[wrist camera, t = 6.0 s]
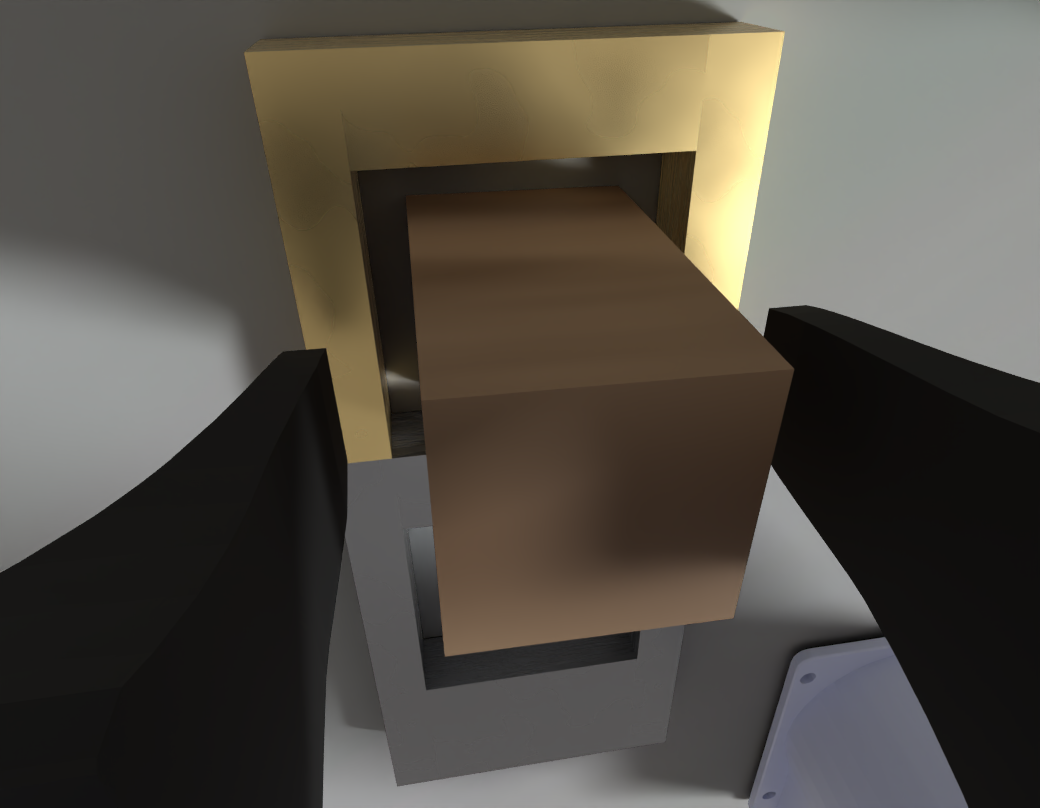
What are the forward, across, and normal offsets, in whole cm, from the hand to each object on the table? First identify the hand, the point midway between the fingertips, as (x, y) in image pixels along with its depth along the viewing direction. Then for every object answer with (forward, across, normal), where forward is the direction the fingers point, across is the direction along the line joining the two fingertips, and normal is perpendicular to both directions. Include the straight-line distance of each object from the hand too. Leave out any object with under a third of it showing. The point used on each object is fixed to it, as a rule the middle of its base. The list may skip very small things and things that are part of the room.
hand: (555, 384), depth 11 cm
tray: (+4, 0, +5) cm, 6 cm away
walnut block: (+4, 0, 0) cm, 4 cm away
